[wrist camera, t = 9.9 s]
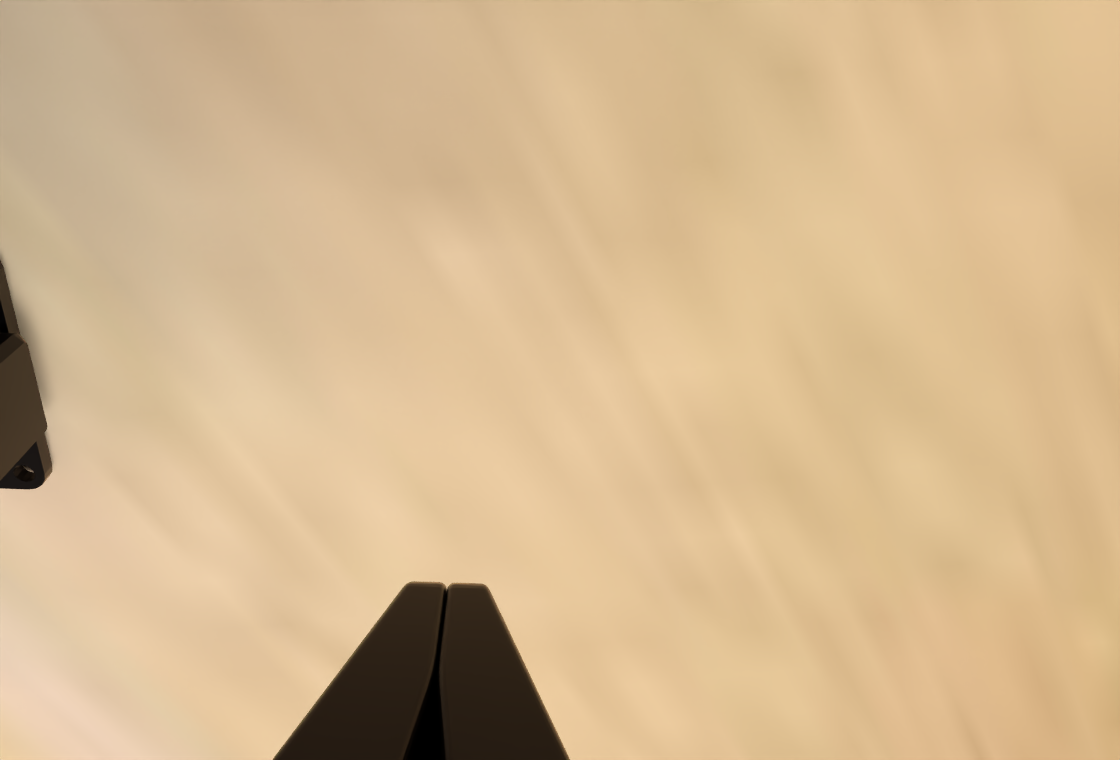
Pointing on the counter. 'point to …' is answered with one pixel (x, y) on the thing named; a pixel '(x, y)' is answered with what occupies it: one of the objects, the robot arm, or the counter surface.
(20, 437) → the robot arm
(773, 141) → the counter surface
